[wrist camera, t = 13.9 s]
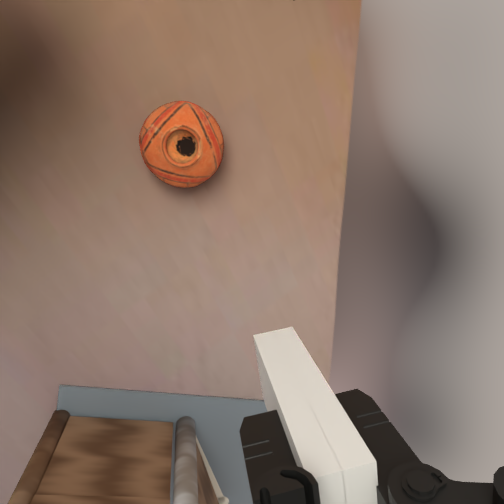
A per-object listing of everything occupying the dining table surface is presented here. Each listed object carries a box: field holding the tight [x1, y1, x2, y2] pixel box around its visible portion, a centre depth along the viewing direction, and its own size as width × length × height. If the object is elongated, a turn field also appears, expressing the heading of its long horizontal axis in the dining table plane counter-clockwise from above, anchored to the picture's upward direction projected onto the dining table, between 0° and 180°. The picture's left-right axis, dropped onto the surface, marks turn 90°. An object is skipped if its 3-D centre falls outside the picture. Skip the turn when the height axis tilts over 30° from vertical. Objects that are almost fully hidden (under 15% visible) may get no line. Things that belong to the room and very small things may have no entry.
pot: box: [139, 101, 224, 187], centre depth 37 cm, size 8×8×7 cm
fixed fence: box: [8, 410, 198, 504], centre depth 39 cm, size 17×3×15 cm, turn 79°
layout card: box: [57, 385, 268, 504], centre depth 49 cm, size 30×18×1 cm, turn 79°
